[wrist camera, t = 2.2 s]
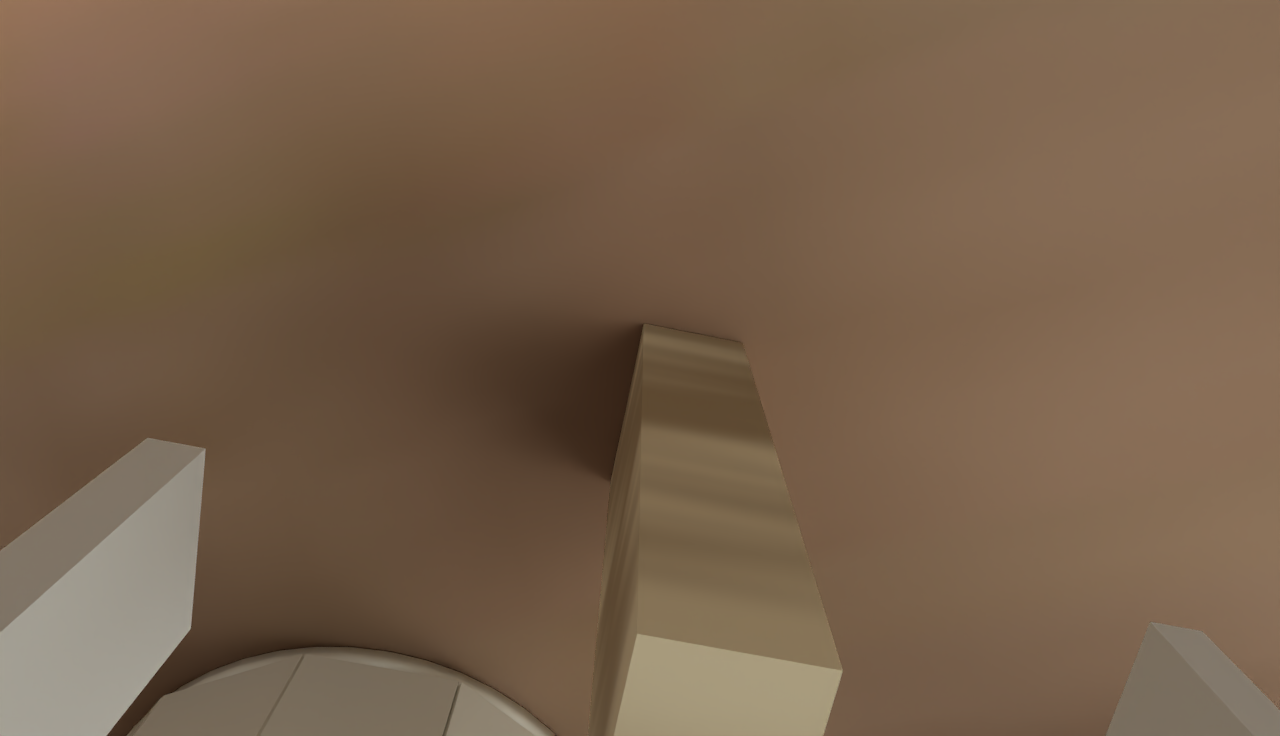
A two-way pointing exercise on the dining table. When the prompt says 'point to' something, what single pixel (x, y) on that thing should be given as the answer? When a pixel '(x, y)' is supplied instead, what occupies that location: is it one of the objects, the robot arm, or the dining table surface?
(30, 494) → the dining table surface
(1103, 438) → the dining table surface
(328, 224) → the dining table surface
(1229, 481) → the dining table surface
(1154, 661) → the robot arm
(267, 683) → the white round bowl
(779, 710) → the cream rectangular box
